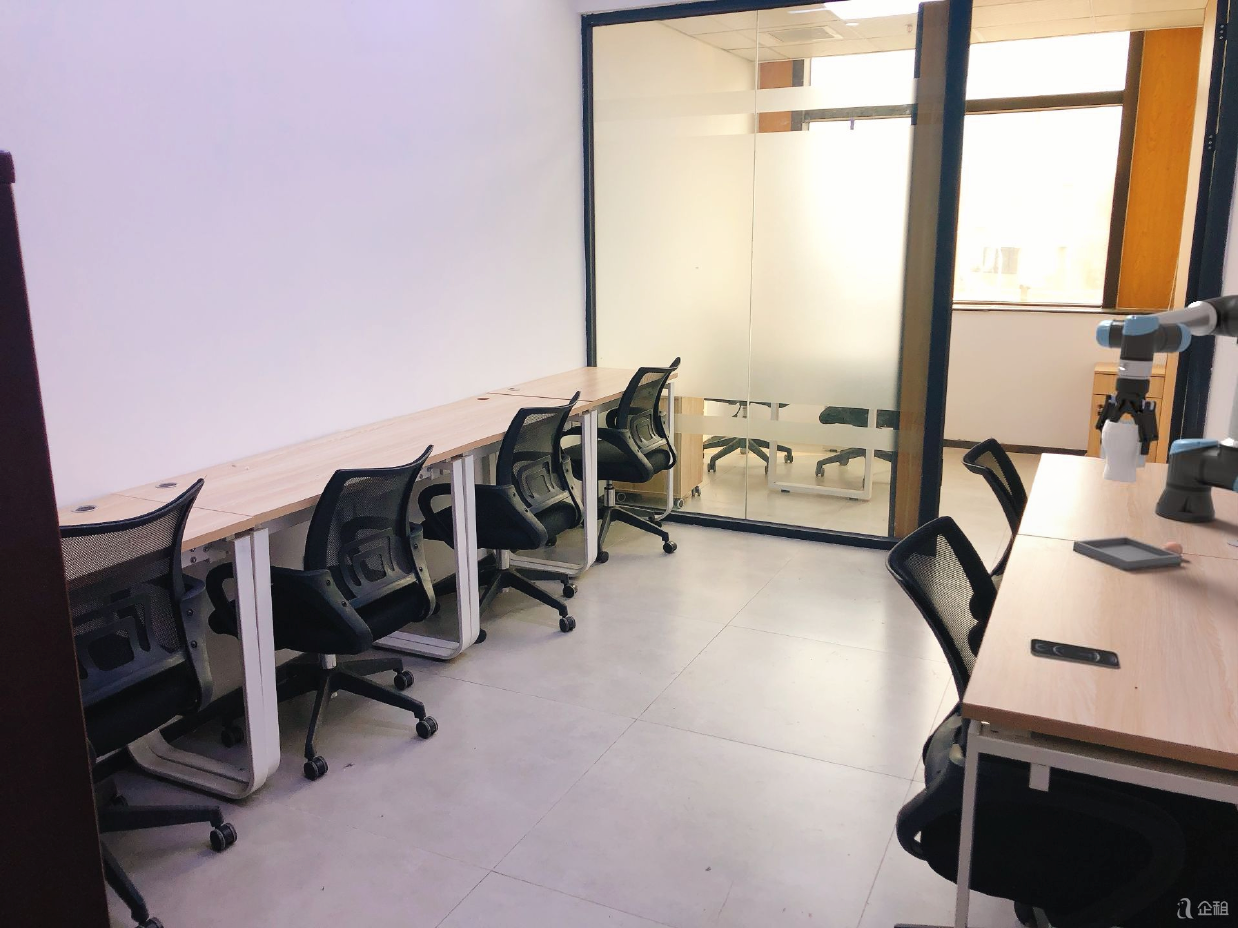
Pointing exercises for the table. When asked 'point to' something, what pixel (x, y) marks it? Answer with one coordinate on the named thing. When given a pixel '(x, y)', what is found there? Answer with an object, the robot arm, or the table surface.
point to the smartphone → (1074, 653)
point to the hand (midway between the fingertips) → (1121, 462)
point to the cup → (1120, 450)
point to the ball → (1174, 547)
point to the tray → (1127, 553)
